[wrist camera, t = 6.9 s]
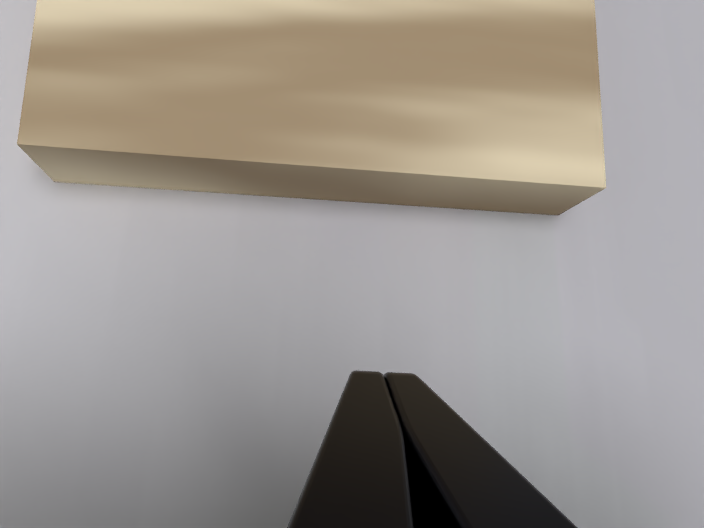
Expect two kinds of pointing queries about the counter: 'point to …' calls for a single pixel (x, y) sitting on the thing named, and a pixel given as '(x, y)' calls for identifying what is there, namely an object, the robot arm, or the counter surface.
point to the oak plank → (322, 99)
